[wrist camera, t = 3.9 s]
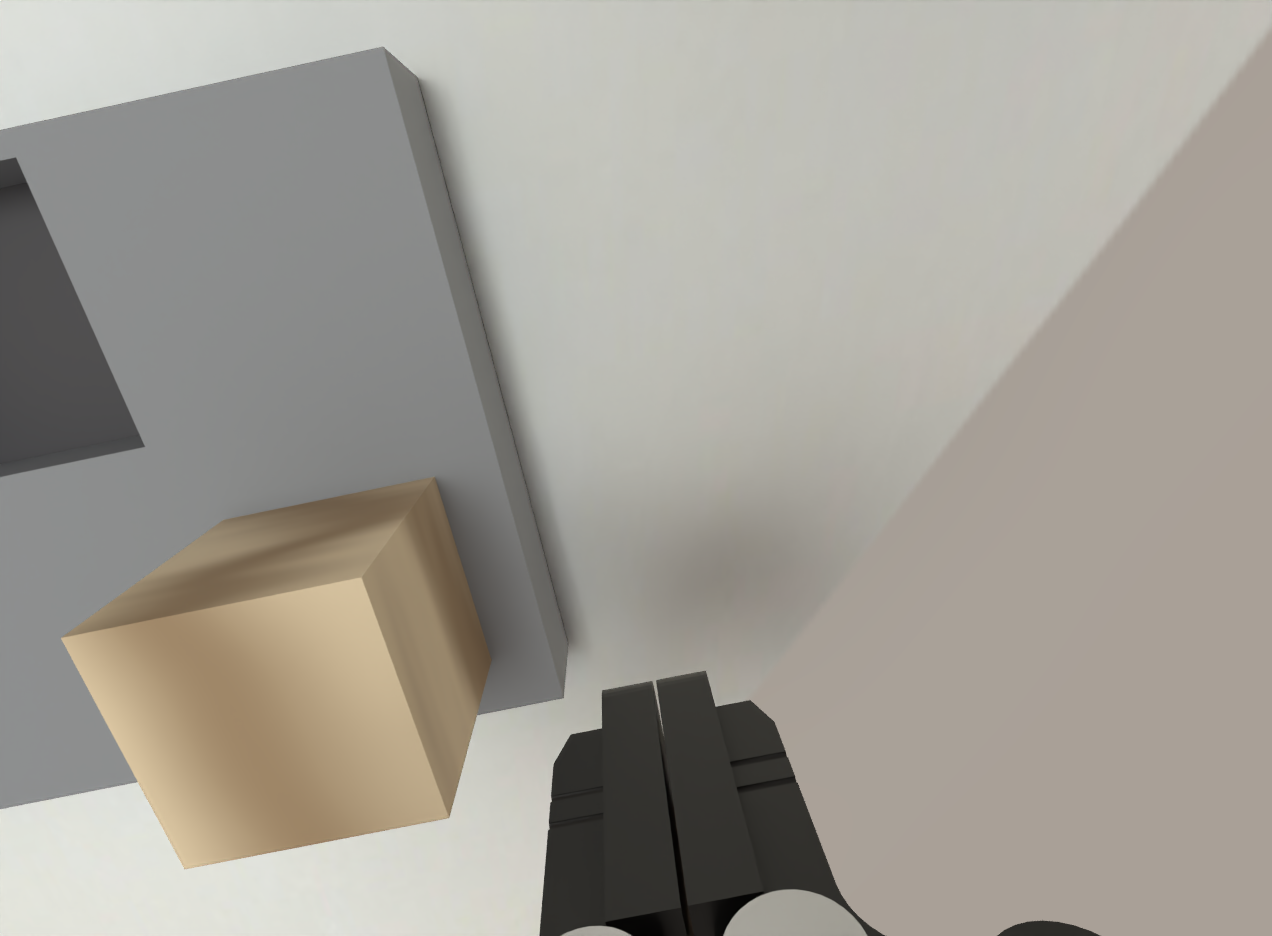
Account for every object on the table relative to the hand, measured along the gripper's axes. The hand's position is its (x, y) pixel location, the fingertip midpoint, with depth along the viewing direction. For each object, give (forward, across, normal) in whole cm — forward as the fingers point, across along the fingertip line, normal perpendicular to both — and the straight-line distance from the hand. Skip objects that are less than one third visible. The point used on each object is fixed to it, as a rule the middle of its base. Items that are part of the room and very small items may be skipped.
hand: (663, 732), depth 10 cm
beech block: (+7, +7, 0) cm, 10 cm away
